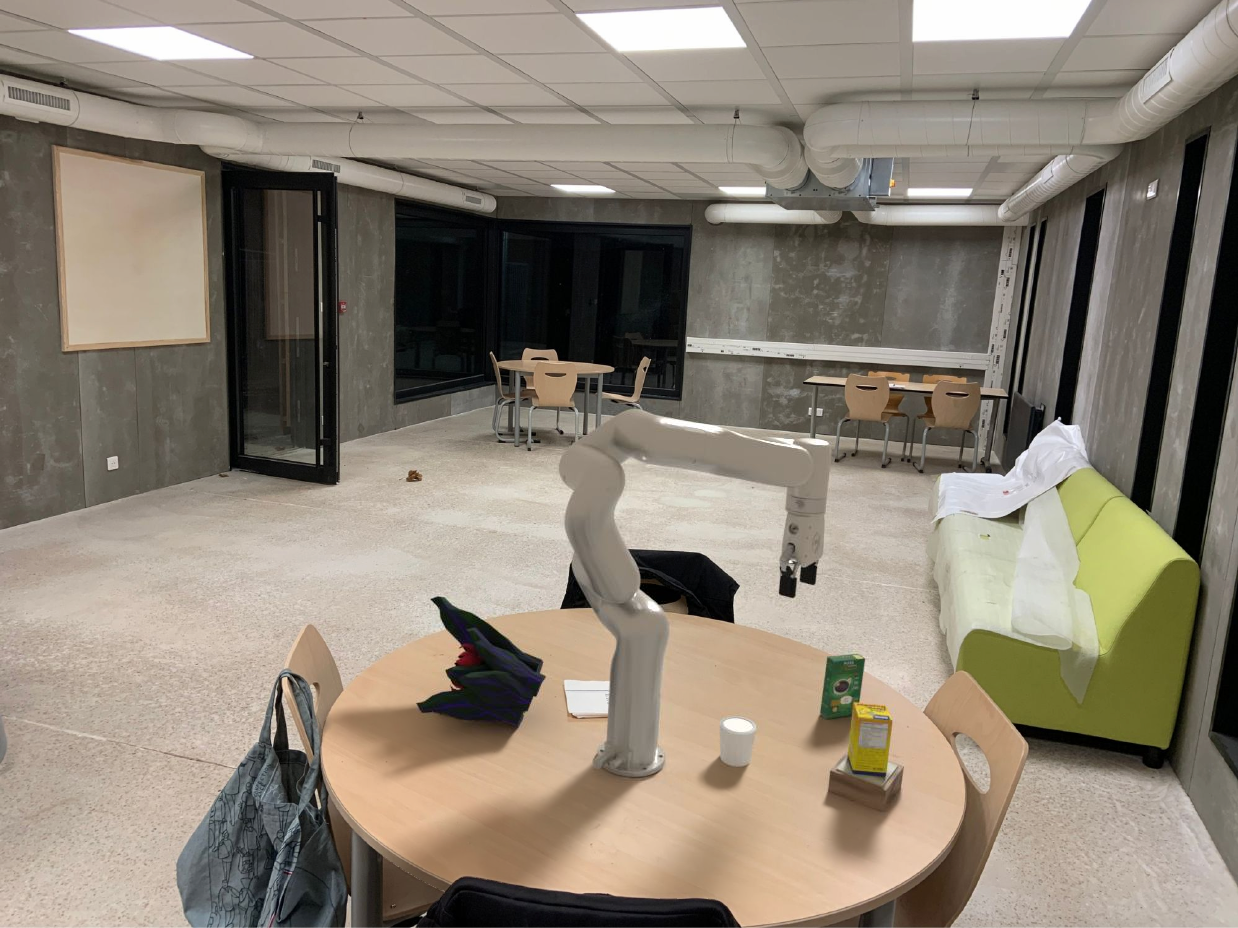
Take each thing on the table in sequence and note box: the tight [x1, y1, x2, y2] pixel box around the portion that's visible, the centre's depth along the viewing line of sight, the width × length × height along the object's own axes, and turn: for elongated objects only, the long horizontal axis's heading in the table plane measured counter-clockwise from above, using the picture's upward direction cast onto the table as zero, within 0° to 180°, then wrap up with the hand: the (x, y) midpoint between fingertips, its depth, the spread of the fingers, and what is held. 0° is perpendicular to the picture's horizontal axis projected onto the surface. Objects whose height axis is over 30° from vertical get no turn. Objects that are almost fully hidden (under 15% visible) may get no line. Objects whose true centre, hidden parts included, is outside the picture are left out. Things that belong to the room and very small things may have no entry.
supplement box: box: [847, 702, 893, 776], centre depth 156 cm, size 6×6×11 cm
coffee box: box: [819, 653, 866, 720], centre depth 184 cm, size 8×3×13 cm, turn 110°
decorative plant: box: [415, 595, 546, 728], centre depth 178 cm, size 21×26×30 cm
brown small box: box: [827, 750, 905, 812], centre depth 158 cm, size 10×10×4 cm
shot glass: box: [719, 715, 758, 768], centre depth 166 cm, size 7×7×7 cm
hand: (797, 589), depth 171 cm, fingers open, 9 cm apart
